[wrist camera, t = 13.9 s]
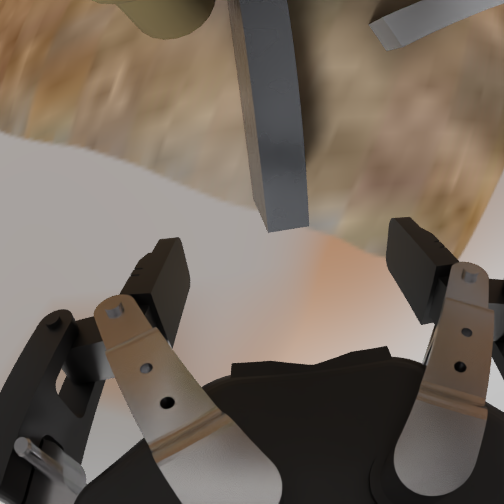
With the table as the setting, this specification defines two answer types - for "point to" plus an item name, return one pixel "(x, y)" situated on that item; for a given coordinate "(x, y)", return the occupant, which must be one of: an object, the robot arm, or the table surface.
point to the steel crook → (271, 110)
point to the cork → (165, 15)
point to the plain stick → (424, 19)
